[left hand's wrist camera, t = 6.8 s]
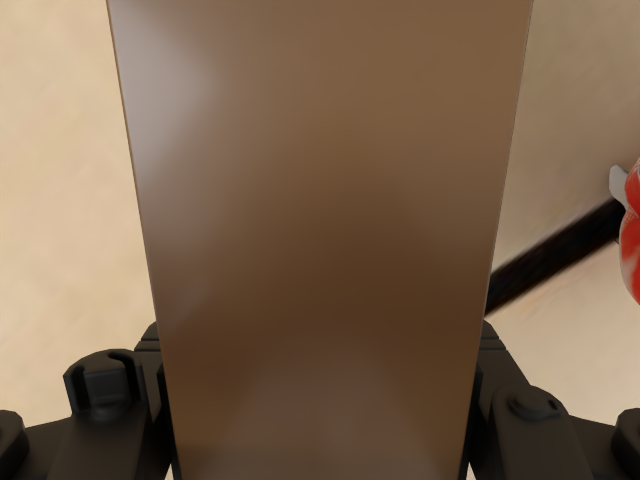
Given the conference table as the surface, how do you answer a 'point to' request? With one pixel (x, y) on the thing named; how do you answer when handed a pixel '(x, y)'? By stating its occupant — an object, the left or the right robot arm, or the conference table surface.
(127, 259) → the conference table surface
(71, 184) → the conference table surface
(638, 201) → the fish
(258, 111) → the bar
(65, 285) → the conference table surface
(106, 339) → the conference table surface
